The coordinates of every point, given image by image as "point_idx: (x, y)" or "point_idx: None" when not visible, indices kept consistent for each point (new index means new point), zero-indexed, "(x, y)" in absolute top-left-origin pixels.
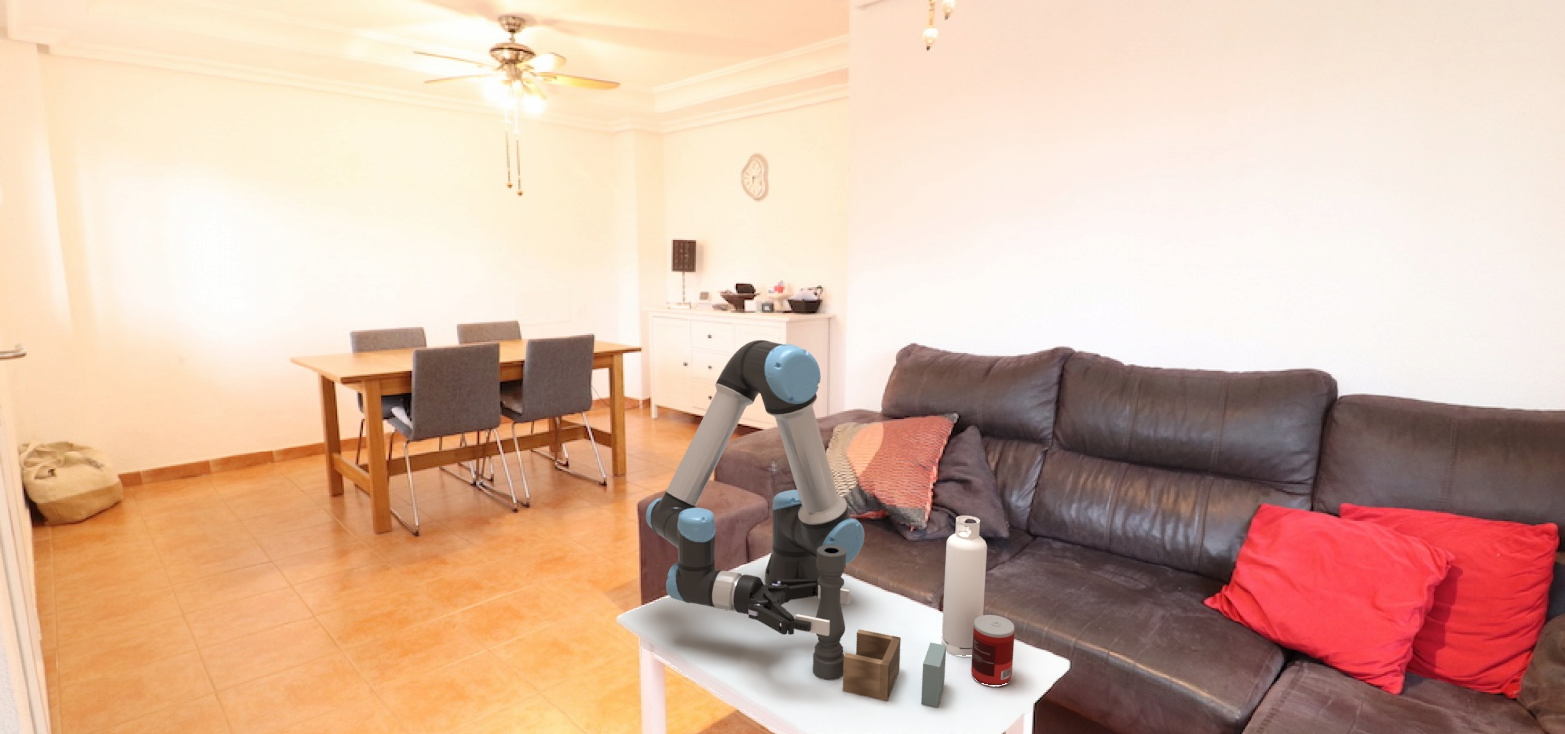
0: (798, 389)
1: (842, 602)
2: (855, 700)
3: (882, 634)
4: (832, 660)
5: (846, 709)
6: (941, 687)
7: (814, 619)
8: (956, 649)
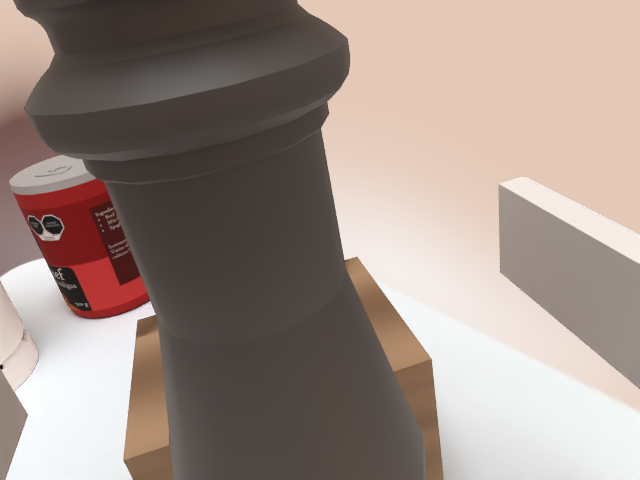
0: None
1: (12, 450)
2: (452, 422)
3: (138, 365)
4: None
5: (522, 412)
6: None
7: (599, 215)
8: (25, 350)
